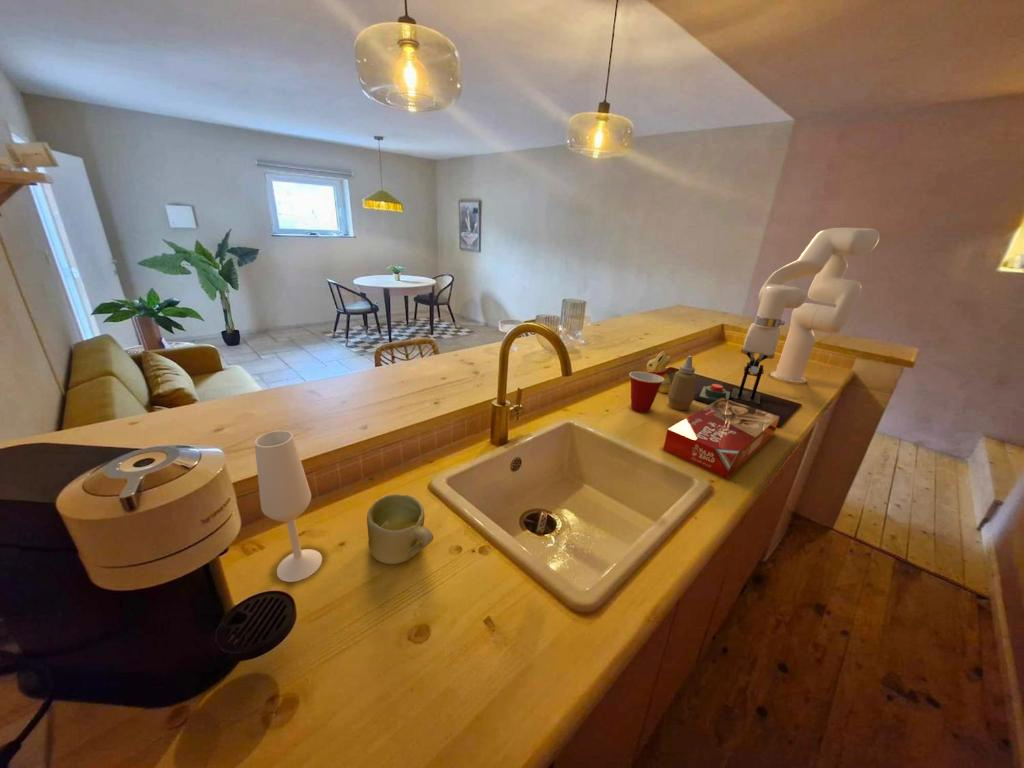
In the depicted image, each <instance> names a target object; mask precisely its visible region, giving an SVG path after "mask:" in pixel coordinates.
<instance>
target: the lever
mask: <svg viewBox="0 0 1024 768" xmlns="http://www.w3.org/2000/svg"><path fill="white" fill-rule="evenodd" d="M759 367H760V366H758V367H755V366H751V368H749V372H748V375H747V376H752V377H757V374H758V370H759ZM744 372H745V370H744V369H743V373H744Z"/></svg>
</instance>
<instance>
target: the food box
mask: <svg viewBox="0 0 1024 768" xmlns="http://www.w3.org/2000/svg"><path fill="white" fill-rule="evenodd" d="M779 420H780V415H776V414H774V413H771V412H767V411H764V410H761V409H758V408H755V407H752V406H748V405H746V404H742V403H739V402H736V401H733V400H730V399H729V400H727V399H724V398H720V399H719V400H717V401H715V402H713V403H710V404H708V405H707V406H705V407H703V408H701V409H700V410H698V411H696V412H695V413H693V414H691V415H689V416H688V417H686V418H684V419H682V420H681V421H679V422H677V423H675V424H674V425H672V426H671V427H669V428H667V431H666V435H665V440H664V444H663V449H662V450H663V451H665V452H667V453H669V454H671V455H674V456H675V457H678V458H680V459H682V460H684V461H687V462H689V463H691V464H693V465H695V466H697V467H700V468H701V469H704V470H705V471H708V472H710V473H712V474H714V475H717V476H719V477H721V478H723V479H725V480H727V479H728V478H729V477H730V476H731V475H732V474H733V473H735V472H736V471H737V470H738V469H740V467H741V466H742V465H743V464H744V463H746V462H747V461H748V459H750V458H751V457H752V456H753V455H754V454H755V453H756V452H757V451H758V450H759V449H761V448H762V447H763V446H764V445H765V444H766V443H767V442H768V441H769V440H770V439H771V438H772V437H774V435H775V431H776V430H777V429H776V428H777V426H778V424H779Z"/></svg>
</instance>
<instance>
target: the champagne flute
mask: <svg viewBox="0 0 1024 768" xmlns="http://www.w3.org/2000/svg"><path fill="white" fill-rule="evenodd" d="M254 451H255V460H256V462H255V463H256V470H257V472H256V473H257V481H258V492H259V500H260V501H259V503H260V510H261V512H262V514H263V515H265V516H266V517H267V518H268V519H271V520H273V521H277V522H284V523H286V526H287V530H288V536H289V540H290V544H291V545H290V546H291V549H292V553H290V554H289V555H286V557H284V558H283V559H282V560H281V561H280V562H279V564H278V566H277V567H276V576H277V577H278V578H279V580H281V581H283V582H286V583H294V582H299V581H302V580H305V579H308V578H309V577H310V576H311V575H313V574H314V573H316V572H317V571H318V569H319V568H320V567H321V565H322V562H323V556H322V554H321V553H320V552H319V551H318V550H315V549H311V548H306V549H302V547H301V543H300V542H301V541H300V537H299V532H298V527H297V522H296V519H297V518H299V517H300V516H301V515H302V514H303V513H304V512H305V511H306V510H307V508H308V507H309V505H310V503H311V500H312V492H311V489H310V486H309V483H308V479H307V476H306V472H305V469H304V467H303V466H304V465H303V463H302V459H301V457H300V453H299V451H298V446H297V444H296V440H295V437H294V434H293V432H291V431H290V430H289V431H288V430H283V429H282V430H281V429H280V430H279V429H278V430H273V431H269V432H265V433H263V434H261V435H259V436H257V437H256V438H255V440H254Z"/></svg>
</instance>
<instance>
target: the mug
mask: <svg viewBox="0 0 1024 768" xmlns="http://www.w3.org/2000/svg"><path fill="white" fill-rule="evenodd" d="M366 515H367V516H366V523H367V524H366V526H367V536H368V537H367V538H368V543H367V544H368V549H369V553H370V555H371V556H372V558H373V559H375V561H378V562H380V563H382V564H385V565H397V564H402V563H405V562H407V561H409V560H411V559H412V558H413V557H415V556H416V555H417V553H418V552H420V551H421V550H424V549H425V548H426V547H428V546H429V545H430V544H431V543H432V542H433V540H434V534H433V533H432V531H431V530H430V528H428V527H427V526H425V518H426V517H425V516H426V515H425V509H424V507H423V504H422V503H421V502H420V500H418V499H417V498H416V497H414V496H412V495H408V494H398V493H397V494H395V493H394V494H388V495H385V496H383V497H381V498H379V499H377V500H376V501H374V502H373V503H372V504H371V506H370V507H369V509H368V511H367V514H366Z"/></svg>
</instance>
